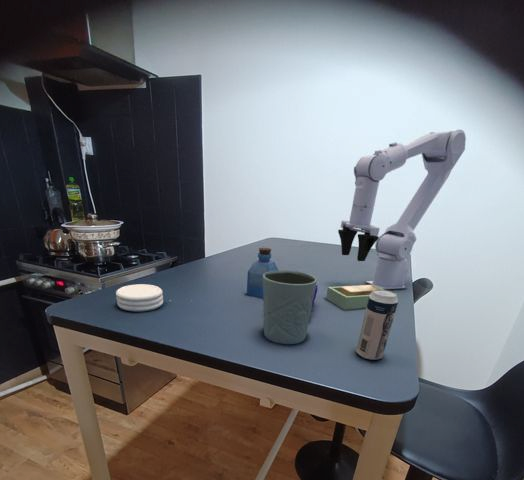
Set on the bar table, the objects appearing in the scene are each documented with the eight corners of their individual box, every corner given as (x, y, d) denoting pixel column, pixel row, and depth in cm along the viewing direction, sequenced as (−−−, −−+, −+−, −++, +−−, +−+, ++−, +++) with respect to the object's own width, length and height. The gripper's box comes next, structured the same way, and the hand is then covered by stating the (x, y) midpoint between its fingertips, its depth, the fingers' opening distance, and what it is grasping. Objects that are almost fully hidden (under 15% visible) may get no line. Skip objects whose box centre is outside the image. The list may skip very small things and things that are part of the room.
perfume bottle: (276, 293, 88) (280, 248, 82) (267, 299, 83) (270, 252, 77) (257, 289, 90) (259, 245, 85) (246, 294, 85) (248, 248, 80)
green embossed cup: (307, 349, 59) (316, 286, 54) (254, 341, 61) (258, 280, 55) (309, 328, 68) (317, 272, 63) (263, 322, 69) (267, 267, 64)
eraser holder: (370, 295, 92) (372, 284, 91) (390, 305, 85) (393, 294, 84) (325, 298, 87) (327, 287, 85) (344, 309, 80) (346, 297, 78)
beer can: (383, 363, 56) (402, 299, 51) (356, 359, 57) (371, 295, 52) (380, 351, 61) (397, 290, 55) (355, 347, 61) (369, 287, 56)
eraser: (368, 296, 89) (370, 285, 88) (378, 302, 86) (381, 289, 84) (338, 299, 86) (340, 286, 84) (347, 304, 82) (350, 291, 81)
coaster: (146, 294, 80) (144, 281, 78) (172, 304, 75) (171, 290, 73) (108, 304, 73) (106, 289, 71) (135, 316, 68) (133, 300, 66)
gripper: (335, 203, 90) (327, 252, 96) (368, 208, 78) (356, 264, 85) (355, 204, 93) (347, 252, 99) (390, 209, 81) (377, 263, 87)
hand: (352, 257), depth 92 cm, fingers open, 7 cm apart
